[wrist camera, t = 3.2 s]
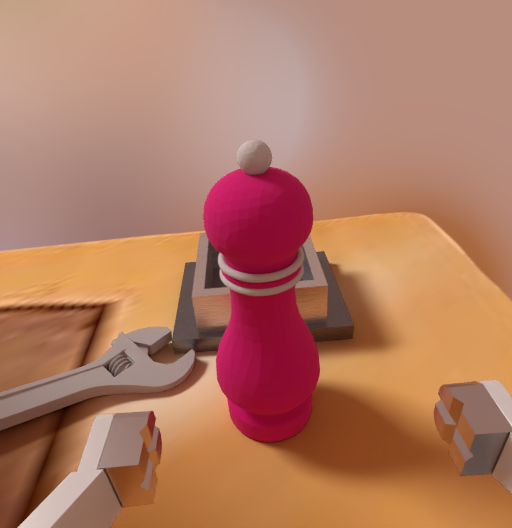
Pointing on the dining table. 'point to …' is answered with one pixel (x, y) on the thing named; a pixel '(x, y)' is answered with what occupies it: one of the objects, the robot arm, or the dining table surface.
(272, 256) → the pepper mill
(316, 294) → the socket stand
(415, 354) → the dining table surface
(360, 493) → the dining table surface
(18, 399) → the adjustable wrench
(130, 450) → the robot arm
